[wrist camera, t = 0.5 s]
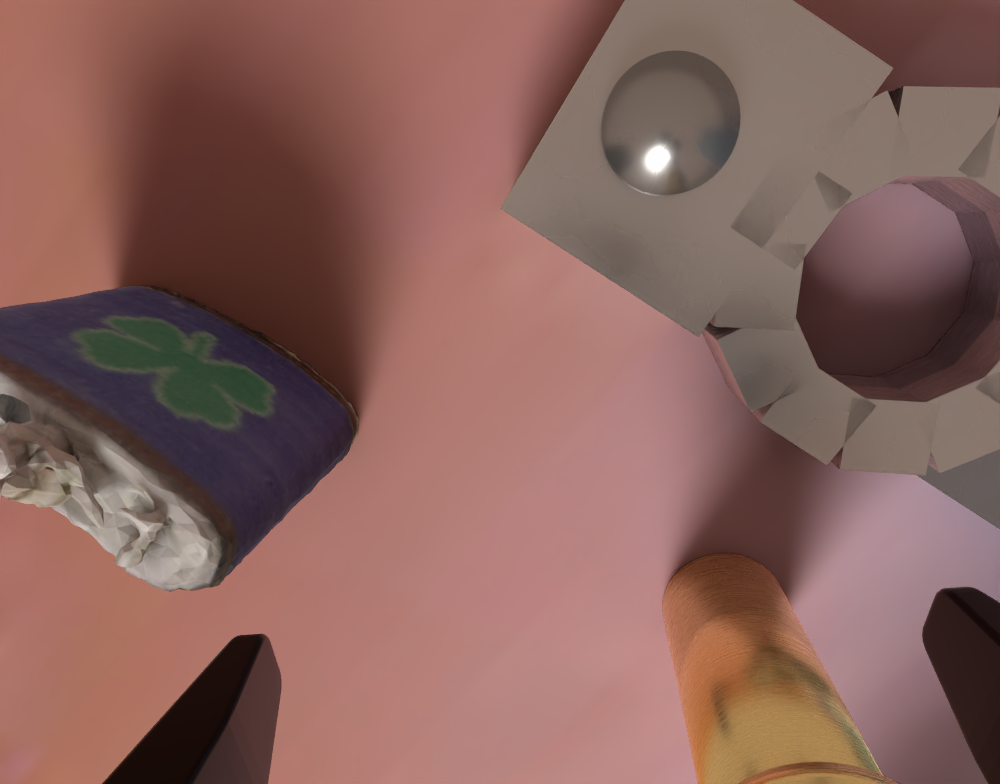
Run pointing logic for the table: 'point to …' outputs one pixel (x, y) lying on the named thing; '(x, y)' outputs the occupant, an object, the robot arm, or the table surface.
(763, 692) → the brass pin
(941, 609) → the robot arm
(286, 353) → the flask
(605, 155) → the flanged post bracket
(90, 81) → the table surface
